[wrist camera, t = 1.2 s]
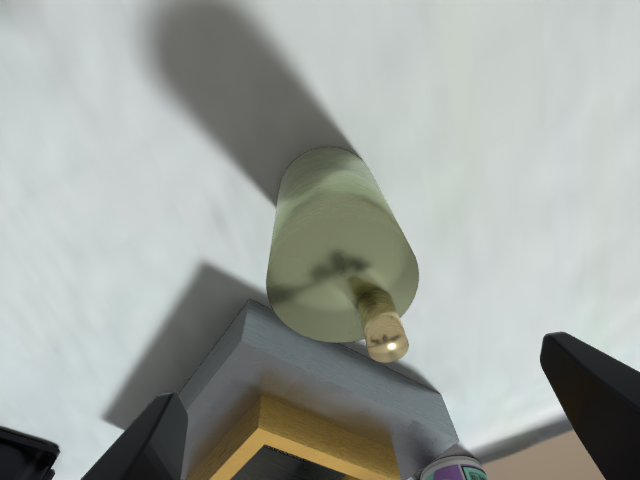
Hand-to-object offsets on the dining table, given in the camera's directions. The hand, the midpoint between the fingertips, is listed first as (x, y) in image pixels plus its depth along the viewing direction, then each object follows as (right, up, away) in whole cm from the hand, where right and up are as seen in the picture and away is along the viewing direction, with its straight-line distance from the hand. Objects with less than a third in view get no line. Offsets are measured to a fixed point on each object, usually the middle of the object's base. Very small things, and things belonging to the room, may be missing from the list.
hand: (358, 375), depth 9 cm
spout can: (-1, +6, +10) cm, 12 cm away
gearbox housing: (-3, -10, +18) cm, 21 cm away
